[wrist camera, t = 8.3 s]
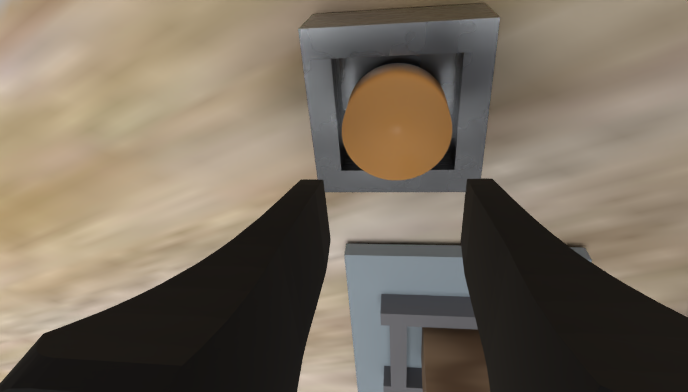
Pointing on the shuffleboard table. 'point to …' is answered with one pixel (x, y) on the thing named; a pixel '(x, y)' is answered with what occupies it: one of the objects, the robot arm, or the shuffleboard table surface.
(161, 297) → the robot arm
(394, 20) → the control box
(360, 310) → the board
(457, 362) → the block
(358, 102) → the button
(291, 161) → the shuffleboard table surface
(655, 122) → the shuffleboard table surface
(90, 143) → the shuffleboard table surface
